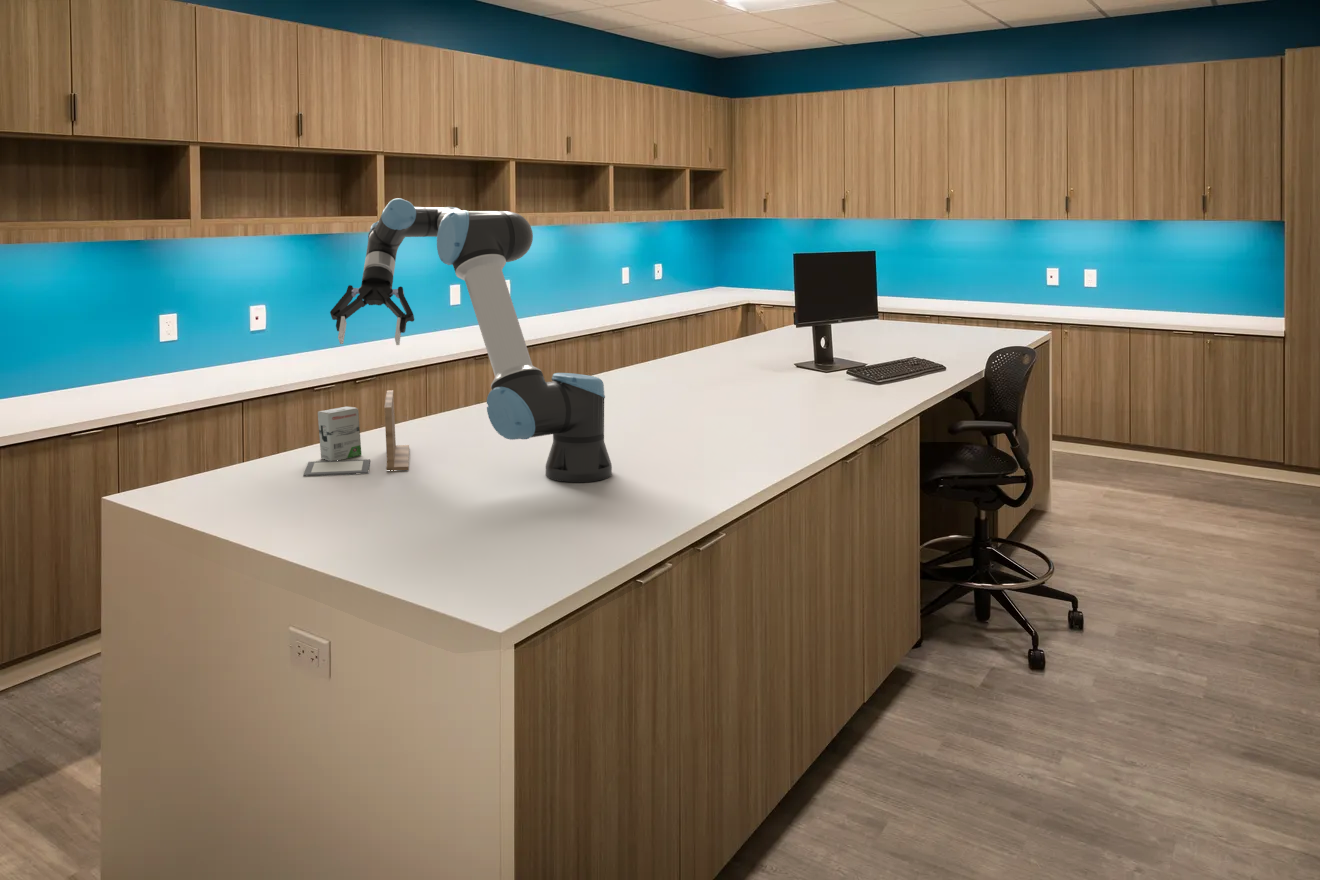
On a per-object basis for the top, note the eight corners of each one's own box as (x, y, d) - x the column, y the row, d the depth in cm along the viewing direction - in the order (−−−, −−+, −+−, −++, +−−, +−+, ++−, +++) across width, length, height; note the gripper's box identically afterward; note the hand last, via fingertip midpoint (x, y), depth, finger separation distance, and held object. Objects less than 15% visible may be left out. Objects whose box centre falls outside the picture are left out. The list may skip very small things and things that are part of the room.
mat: (368, 473, 237) (367, 471, 237) (303, 476, 234) (303, 474, 233) (370, 460, 248) (370, 458, 248) (308, 463, 245) (308, 461, 245)
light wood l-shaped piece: (408, 470, 240) (406, 406, 236) (386, 471, 238) (383, 407, 235) (409, 448, 260) (406, 389, 257) (388, 449, 259) (385, 390, 256)
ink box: (350, 452, 256) (347, 405, 253) (362, 455, 253) (359, 407, 250) (319, 458, 249) (316, 410, 247) (331, 462, 246) (328, 413, 244)
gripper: (429, 284, 270) (422, 351, 259) (331, 282, 268) (320, 349, 257) (426, 265, 264) (418, 333, 253) (325, 263, 262) (313, 331, 251)
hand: (368, 341), depth 255 cm, fingers open, 13 cm apart
